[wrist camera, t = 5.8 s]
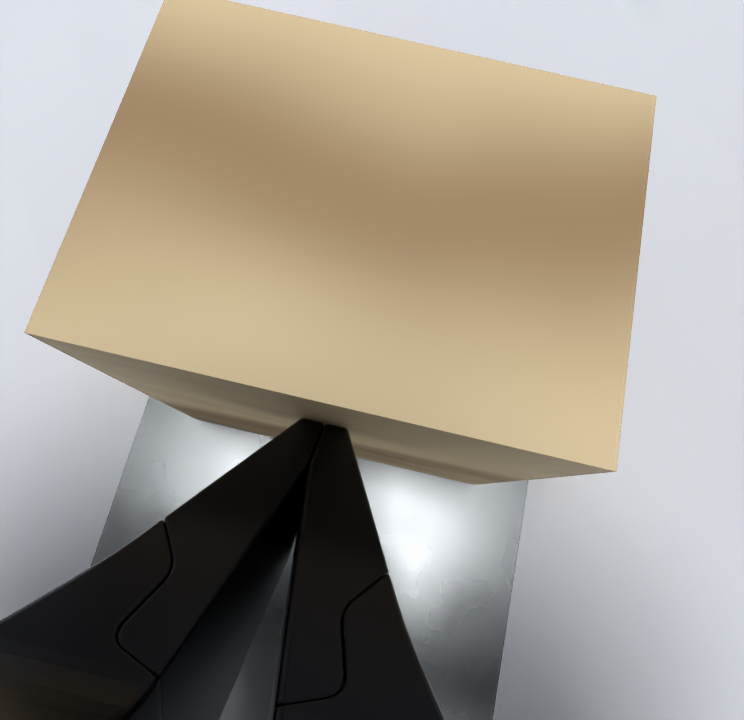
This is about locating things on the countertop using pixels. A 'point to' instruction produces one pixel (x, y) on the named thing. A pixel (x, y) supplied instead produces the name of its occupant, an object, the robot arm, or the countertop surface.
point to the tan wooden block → (363, 244)
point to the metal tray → (399, 544)
